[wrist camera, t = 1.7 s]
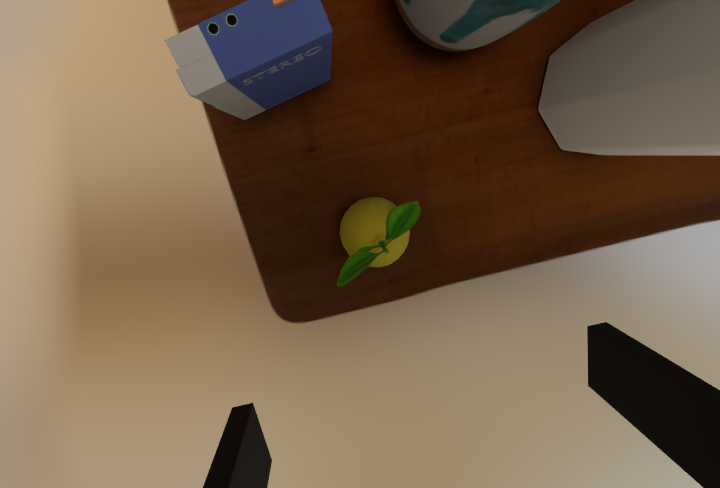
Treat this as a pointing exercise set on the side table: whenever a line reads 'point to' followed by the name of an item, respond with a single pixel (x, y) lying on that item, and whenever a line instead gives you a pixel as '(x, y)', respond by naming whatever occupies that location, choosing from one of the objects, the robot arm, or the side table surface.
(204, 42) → the walkman
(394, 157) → the side table surface
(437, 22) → the vase
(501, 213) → the side table surface
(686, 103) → the cup
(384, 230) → the lemon
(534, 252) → the side table surface
